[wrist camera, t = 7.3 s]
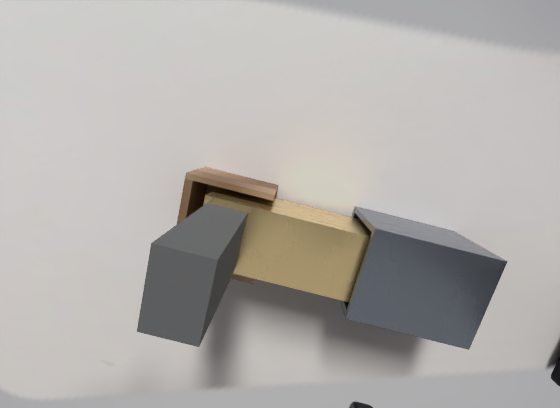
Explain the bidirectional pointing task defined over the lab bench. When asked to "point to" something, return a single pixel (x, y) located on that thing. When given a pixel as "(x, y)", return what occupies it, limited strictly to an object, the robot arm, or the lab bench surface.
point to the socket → (210, 179)
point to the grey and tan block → (245, 258)
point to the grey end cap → (422, 280)
